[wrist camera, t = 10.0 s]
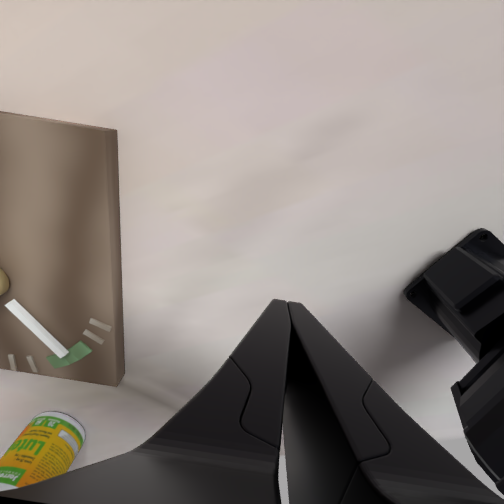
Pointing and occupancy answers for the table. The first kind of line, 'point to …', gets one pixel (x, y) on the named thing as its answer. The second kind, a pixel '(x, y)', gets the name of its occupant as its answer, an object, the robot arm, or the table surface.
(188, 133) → the table surface
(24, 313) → the upright white panel
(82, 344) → the tuner board
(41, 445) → the supplement bottle
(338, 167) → the table surface
